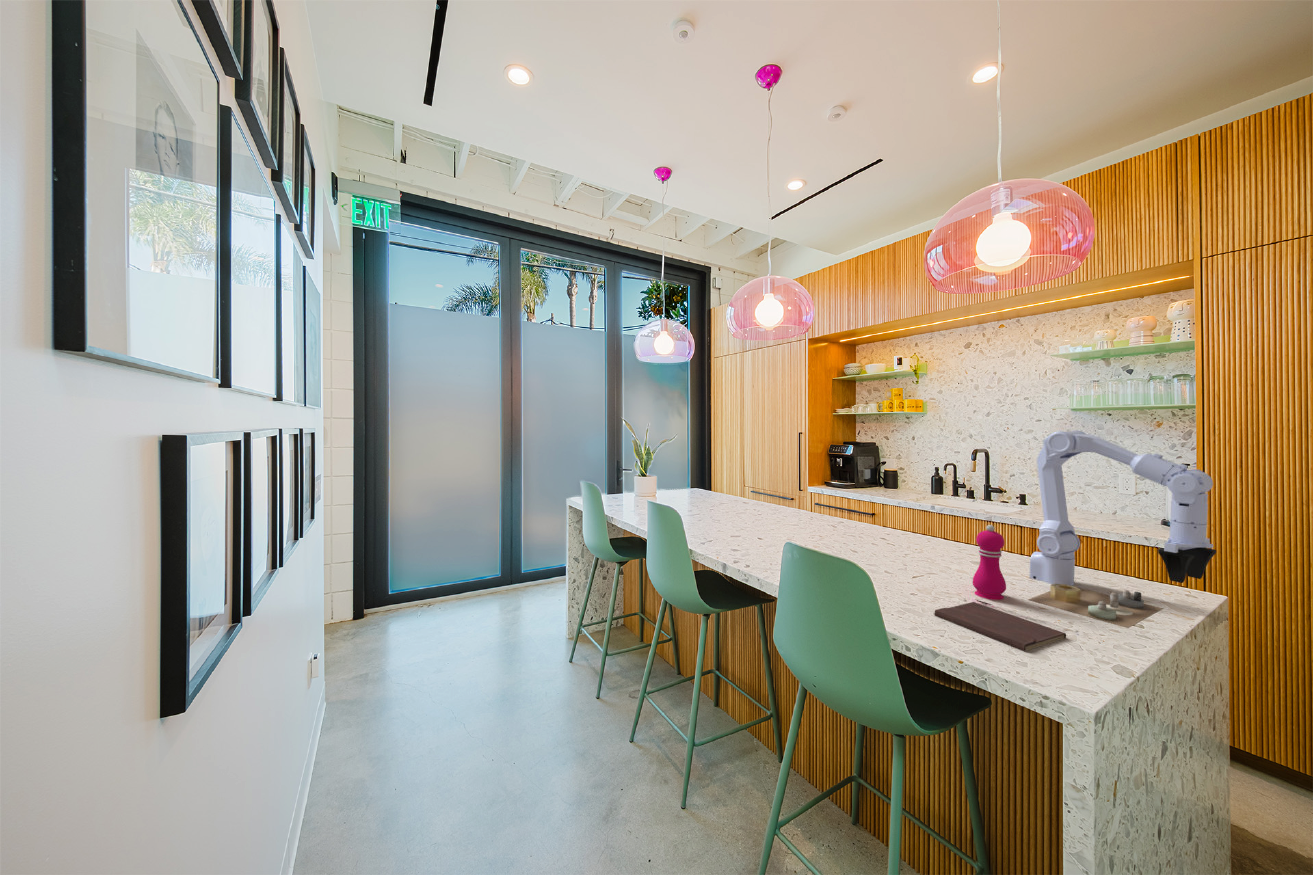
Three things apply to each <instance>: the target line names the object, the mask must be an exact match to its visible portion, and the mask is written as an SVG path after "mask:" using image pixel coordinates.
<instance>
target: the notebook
mask: <svg viewBox="0 0 1313 875" xmlns="http://www.w3.org/2000/svg"><path fill="white" fill-rule="evenodd" d="M933 615H934V616H935V617H937V618H939V619H941V620H944V621H947V622H949V623H952V624H955V625H957V626H959V627H962V628H965V629H967V630H969V631H972V632H975V633H978V634H979V635H983V636H985V637H987V638H989V639H993V640H995V641H997V642H999V643H1003V644H1004V645H1007V646H1010V647H1011V648H1015V649H1016V650H1019V651H1022V652H1026V651H1027V652H1028V651H1029V650H1033V649H1035V648H1038V647H1041V646H1045V645H1048V644H1050V643H1055V642H1057V641H1058V642H1059V641H1060V640H1064V639H1067V633H1066V632H1063V631H1060V630H1057V629H1054V628H1052V627H1049V626H1045V625H1042V624H1040V623H1037V622H1034V621H1031V620H1028V619H1025V618H1023V617H1019V616H1016V615H1014V614H1012V613H1008V612H1006V611H1005V612H1004V611H1001V610H998V609H997V608H992V607H989V606H987V605H986V604H985V605H984V604H983V603H980V602H976V601H971V602H966V603H963V604H959V605H955V606H951V607H942V608H939V609H938V608H937V609H935V611H934V613H933Z"/></svg>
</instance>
